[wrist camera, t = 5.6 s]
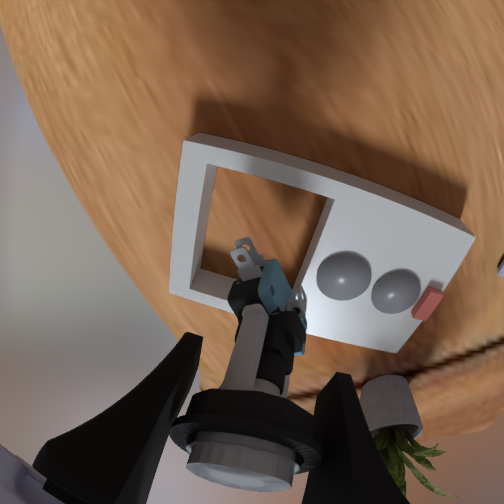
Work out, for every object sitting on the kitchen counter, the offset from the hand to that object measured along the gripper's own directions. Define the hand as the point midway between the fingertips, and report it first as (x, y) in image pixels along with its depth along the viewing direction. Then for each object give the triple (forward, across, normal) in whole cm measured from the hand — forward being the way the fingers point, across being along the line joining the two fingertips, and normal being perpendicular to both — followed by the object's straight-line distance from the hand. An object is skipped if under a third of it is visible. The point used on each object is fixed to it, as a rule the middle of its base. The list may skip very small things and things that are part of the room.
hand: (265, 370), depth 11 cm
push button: (+6, 0, 0) cm, 6 cm away
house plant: (+11, -14, +14) cm, 22 cm away
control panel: (+10, -2, 0) cm, 11 cm away
